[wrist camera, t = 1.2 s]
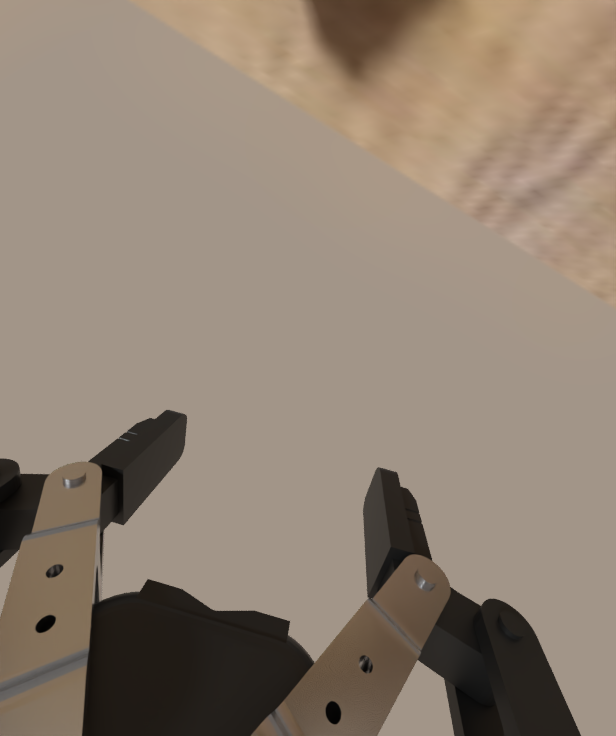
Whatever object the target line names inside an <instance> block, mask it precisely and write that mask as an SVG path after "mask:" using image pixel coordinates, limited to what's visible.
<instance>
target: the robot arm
mask: <svg viewBox="0 0 616 736" xmlns="http://www.w3.org/2000/svg"><path fill="white" fill-rule="evenodd" d="M186 424H187V416H186V415H185V414H181V413H178V412H174V411H170V410H166V411H164V412H163V413H162V414H161V415H160V416H158V417H157V418H156V419H152V418H149V419H147V420H145V421H142V422H140V423H137V424H136V425H134V426H133V427H132V428H131V429H129V430H128V431H127V433H124V434H123V435H122V436H120V437H119V439H116V440H115V441H114V442H113V443H111V444H110V445H109V446H108V447H106V448H105V449H104V450H102V451H101V452H100V453H99V454H97V455H96V456H95V457H93V458H92V459H91V460H90V461H88V462H75V463H71V464H67V465H65V466H62V467H60V468H58V469H56V470H55V471H53V472H52V473H51V474H20V468H19V465H18V463H17V462H15V461H13V460H10V459H0V567H1V566H3V565H4V564H5V563H6V562H7V561H8V560H9V559H10V558H11V557H12V556H13V555H14V554H15V553H16V552H17V551H18V550H19V553H18V557H17V560H16V564H15V567H14V570H13V574H12V577H11V582H10V585H9V588H8V592H7V595H6V599H5V602H4V606H3V609H2V613H1V616H0V736H377V735H378V733H379V731H380V729H381V727H382V726H383V724H384V722H385V720H386V718H387V716H388V714H389V712H390V710H391V708H392V707H393V705H394V703H395V701H396V699H397V697H398V695H399V694H400V692H401V690H402V688H403V686H404V684H405V682H406V680H407V678H408V676H409V675H410V673H411V671H412V669H413V667H414V665H415V663H416V661H417V660H419V661H420V662H421V663H423V664H424V665H426V666H427V667H429V668H430V669H431V670H433V671H434V672H436V673H437V674H438V675H440V676H441V677H443V678H444V680H445V686H446V691H447V697H448V702H449V708H450V713H451V718H452V724H453V730H454V735H455V736H581V735H580V732H579V730H578V728H577V726H576V723H575V721H574V719H573V717H572V714H571V712H570V710H569V708H568V706H567V704H566V701H565V699H564V697H563V695H562V692H561V690H560V688H559V686H558V683H557V681H556V679H555V676H554V674H553V672H552V670H551V667H550V666H549V663H548V661H547V659H546V656H545V654H544V652H543V650H542V647H541V645H540V643H539V641H538V638H537V636H536V634H535V632H534V631H533V629H532V627H531V626H530V625H529V623H528V622H527V621H526V620H525V618H524V617H523V616H522V615H521V614H520V613H519V612H518V611H516V610H515V609H514V608H513V607H511V606H510V605H508V604H506V603H505V602H503V601H500V600H497V599H488V600H486V601H485V602H484V603H483V604H482V606H480V605H478V604H476V603H475V602H473V601H472V600H470V599H468V598H466V597H465V596H463V595H461V594H460V593H458V592H457V591H455V590H454V589H453V588H451V587H450V584H449V581H448V579H447V577H446V575H445V574H444V572H443V571H442V570H441V569H440V567H439V566H438V565H436V564H435V563H434V562H433V561H432V558H431V554H430V550H429V547H428V543H427V539H426V536H425V532H424V528H423V525H422V524H421V522H422V521H421V518H420V514H419V510H418V506H417V503H416V500H415V499H414V497H413V495H412V494H411V493H410V491H409V490H408V489H406V488H403V487H400V482H399V478H398V474H397V472H394V471H390V470H387V469H383V468H377V469H376V471H375V474H374V476H373V479H372V482H371V485H370V487H369V489H368V492H367V495H366V497H365V502H364V508H363V515H364V534H365V535H364V536H365V555H366V574H367V592H368V593H367V594H368V597H369V599H367V600H366V601H365V603H364V604H363V605H362V606H361V607H360V609H359V610H358V611H357V612H356V614H355V615H354V616H353V617H352V618H351V620H350V621H349V622H348V623H347V624H346V626H345V627H344V628H343V629H342V630H341V632H340V633H339V634H338V635H337V636H336V638H335V639H334V640H333V641H332V643H331V644H330V645H329V646H328V647H327V649H326V650H325V651H324V652H323V654H322V655H321V656H320V657H319V658H318V660H317V661H316V662H315V663H314V661H313V660H312V658H311V657H310V655H309V654H308V653H307V652H306V651H305V649H304V648H303V647H302V646H301V645H300V644H299V643H298V642H296V641H295V640H294V639H293V638H291V637H290V636H288V630H289V623H290V621H287V620H284V619H280V618H277V617H274V616H270V615H267V614H263V613H260V612H257V611H214V610H212V609H210V608H209V607H207V606H206V605H204V604H203V603H202V602H200V601H199V600H197V599H195V598H194V597H193V596H191V595H190V594H188V593H187V592H185V591H184V590H183V589H179V588H176V587H173V586H169V585H166V584H162V583H159V582H156V581H152V580H149V579H148V580H147V581H146V583H145V585H144V586H143V588H142V590H141V591H140V592H130V593H124V594H120V595H116V596H113V597H110V598H107V599H104V600H102V573H103V549H104V529H105V528H106V527H107V526H108V525H109V524H110V522H115V523H118V524H121V525H124V524H125V523H126V522H127V521H128V519H129V518H130V517H131V516H132V515H133V513H134V512H135V511H136V510H137V509H138V507H139V506H140V505H141V504H142V503H143V502H144V500H145V499H146V498H147V497H148V496H149V494H150V493H151V492H152V491H153V490H154V489H155V487H156V486H157V485H158V484H159V483H160V482H161V480H162V479H163V478H164V477H165V476H166V474H167V473H168V472H169V471H170V470H171V468H172V467H173V466H174V465H175V464H176V462H177V461H178V460H179V459H180V457H181V455H182V453H183V450H184V446H185V436H186ZM371 598H372V599H371Z"/></svg>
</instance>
